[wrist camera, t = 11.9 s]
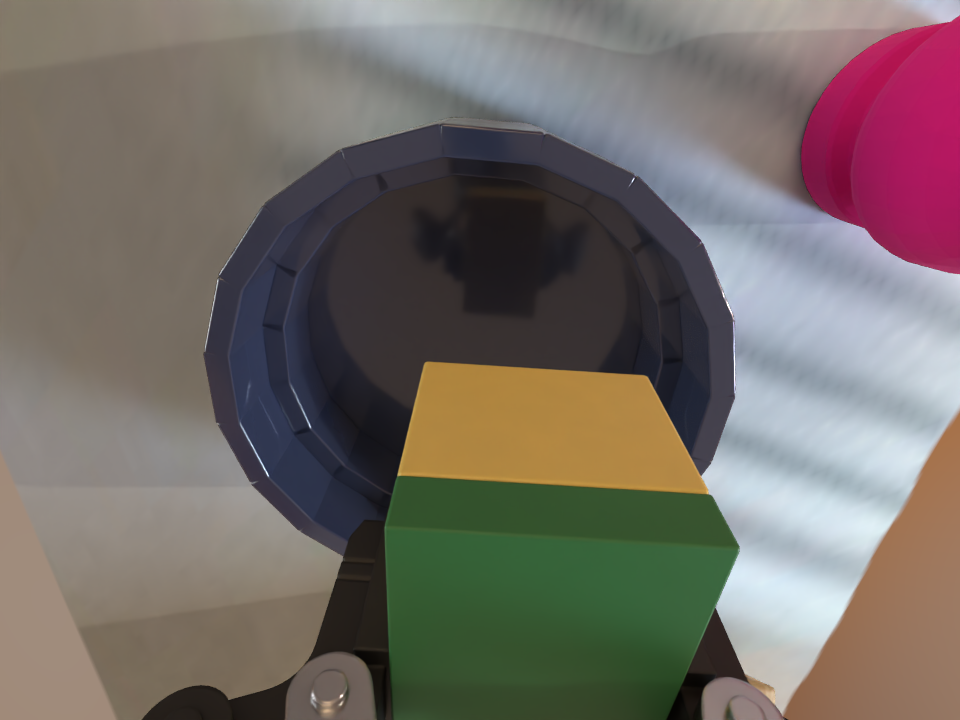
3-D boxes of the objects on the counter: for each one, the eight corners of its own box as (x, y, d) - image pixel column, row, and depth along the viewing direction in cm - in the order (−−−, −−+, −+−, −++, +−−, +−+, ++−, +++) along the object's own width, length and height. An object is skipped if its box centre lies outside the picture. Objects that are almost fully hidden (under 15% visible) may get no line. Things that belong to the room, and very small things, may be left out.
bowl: (255, 98, 18) (154, 97, 12) (725, 139, 18) (822, 157, 13) (295, 472, 25) (243, 571, 20) (626, 497, 26) (662, 602, 20)
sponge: (424, 359, 10) (383, 527, 6) (648, 373, 10) (743, 548, 6) (421, 591, 14) (393, 795, 10) (590, 601, 14) (630, 806, 10)
